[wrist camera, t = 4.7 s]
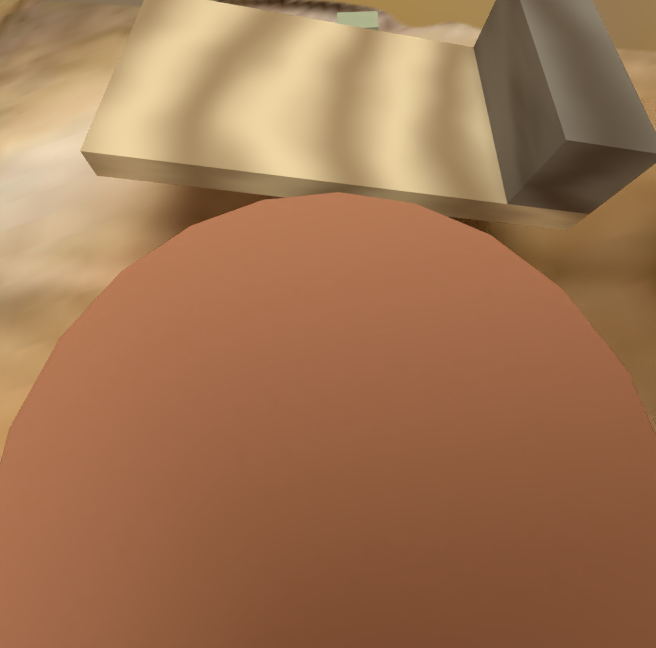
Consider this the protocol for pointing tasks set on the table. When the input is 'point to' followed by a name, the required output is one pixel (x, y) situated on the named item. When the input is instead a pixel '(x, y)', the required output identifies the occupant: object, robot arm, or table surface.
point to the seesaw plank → (378, 110)
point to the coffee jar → (330, 449)
